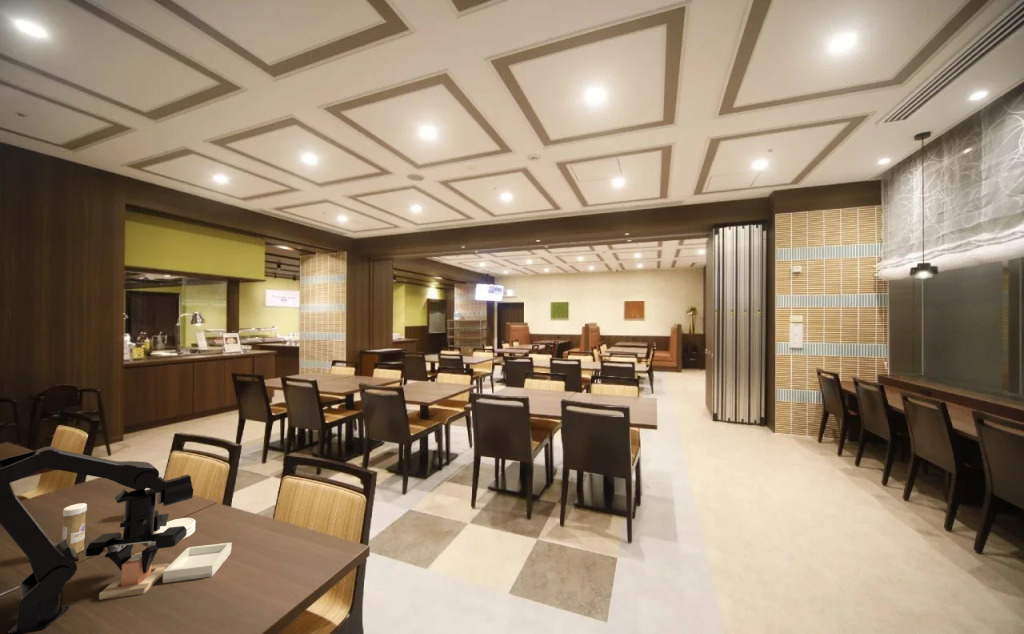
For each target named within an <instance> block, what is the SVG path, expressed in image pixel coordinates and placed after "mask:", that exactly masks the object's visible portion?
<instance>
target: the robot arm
mask: <svg viewBox="0 0 1024 634" xmlns="http://www.w3.org/2000/svg"><path fill="white" fill-rule="evenodd" d="M44 469H52V470H57V471H64V472H68V473H73V474H79V475H84V476H91V477H96V478H101V479H107V480H109V481H112V482H115V483H116V484H118V485H121V486H125V487H127V488H129V489H132V490H126V489H122V491H120V493H118V494H117V495H116V496H114V498H113V499H114V501H115V502H116V504H120V503H124V514H123V515H124V516H123V520H122V521H121V522H119V523H120V524H119V528H123V530H122V531H123V534H122V533H121V532H110V533H108V532H107V533H103V534H102V535H100V536H98V537H97V538H96V539H94V540H93V541H91V542H89V543H88V544H87V545H86V548H84V550H85V551H84V556H85V557H86V558H87V557H94V556H99V555H102V553H103V552H105V550H106V549H107V550H106V551H107V553H106V554H104V558H108V559H110V560H111V562H113V563H114V564H115V565H116V567H117V568H118V569H119V570H120V571H121V572H122V564H123V563H125V562H126V561H127V560H128V559H130V558H131V557H132V549H133V547H134V545H142V544H147V547H145V549H143V550H142V551H141V552H142V568H143V573H146V572H147V571H148V570H149V568H150V565H151V563H152V564H153V561H154V559H155V557H156V555H157V554H158V551H159V550H161V549H166V548H167V549H168V548H173V547H175V546H177V545H178V543H180V542H181V541H182V540H184V539H183V538H184V537H185V536H186V532H187V529H186V528H185V527H184V526H179V527H169V528H168V529H167V530H165V531H164V532H162V533H157V534H154V532H155V531H158V530H159V529H160V526H166V524H167V522H168V519H169V515H170V514H169V513H159V510H156V501H157V504H158V505H160V504H161V505H162V506H163V507H167V506H171V505H175V504H178V503H181V502H185V501H189V500H192V499H193V495H194V488H193V484H192V480H191V479H192V477H191V476H190V475H189V474H184V475H181V476H179V477H175V478H171V479H166V480H165V479H164V478H163V477H162V476H160V471H159V470H158V469H157V468H156V467H155V466H154V465H153V464H152V463H150V462H147V461H133V460H130V461H129V460H127V461H120V460H119V461H118V460H112V459H111V460H110V459H108V458H103V457H98V456H92V455H87V454H82V453H78V452H73V451H69V450H63V449H59V448H58V447H57V448H56V447H54V446H44V447H41V448H39V449H35V450H32V451H28V452H25V453H21V454H16V455H11V456H9V457H8V456H7V457H5V458H2V459H0V525H1V527H2V528H3V529H4V530H5V531H6V533H7V534H8V535H9V536H10V537H11V539H12V540H13V541H14V542H15V544H16V545H17V546H18V547H19V549H21V551H22V553H24V555H26V557H27V558H28V561H29V563H30V566H31V570H32V572H31V573H30V574H29V575H28V576H27V577H25V578H24V579H23V580H22V581H21V582H20V583H19V590H20V600H19V601H20V602H19V603H18V604H17V617H16V618H17V620H16V624H15V625H14V626H12V627H11V628H12V629H13V630H12V631H10V633H11V632H13V634H19V633H25V632H32V631H39V630H44V629H46V628H47V627H49V625H51V624H52V623H53V622H55V621H56V620H57V619H59V618H60V617H61V616H62V615H63V614H64V613H66V612H67V611H68V610H69V609H70V605H64V606H62V605H63V593H64V587H65V584H66V583H67V582H68V581H70V580H71V579H72V578H73V577H74V576H75V574H76V572H77V570H78V566H77V562H79V560H80V559H79V556H78V553H76V551H75V550H74V549H72V548H70V547H69V545H68V542H67V539H65V540H63V541H62V540H61V541H60V542H59V543H58V542H56V541H53V540H52V539H51V538H50V537H49V535H48V534H47V533H46V532H45V531H44V529H43V528H42V527H41V525H40V524H39V523H38V521H37V520H36V519H35V518H34V516H33V515H32V514H31V512H29V510H28V508H26V506H25V505H24V504H23V503H22V502H21V501H22V500H20V498H19V497H18V496H17V494H15V491H14V487H13V485H12V484H13V482H16V481H18V480H21V479H23V478H25V477H27V476H30V475H32V474H34V473H36V472H39V471H41V470H44ZM146 488H149V489H148V490H145V489H146ZM156 499H157V500H156ZM15 632H16V633H15Z"/></svg>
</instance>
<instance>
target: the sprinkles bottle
mask: <svg viewBox="0 0 1024 634" xmlns="http://www.w3.org/2000/svg"><path fill="white" fill-rule="evenodd" d="M62 511H63V512H62V516H63V523H62V524H63V525H62V533H61V534H62V536H61V542H62V541H63V540H65V539H67V542H68V545H69V547H70V548H72V549H74V550H75V551H76V553H77V554H79V553H80V552H82V551H84V550H85V538H86V515H87V513H86V512H87V511H88V504H87V503H85V502H82V503H81V502H80V503H76V504H71V505H68V506H66V507H64V508H63V510H62Z"/></svg>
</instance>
